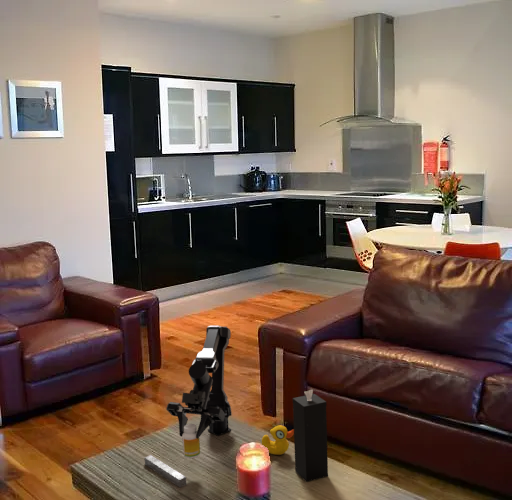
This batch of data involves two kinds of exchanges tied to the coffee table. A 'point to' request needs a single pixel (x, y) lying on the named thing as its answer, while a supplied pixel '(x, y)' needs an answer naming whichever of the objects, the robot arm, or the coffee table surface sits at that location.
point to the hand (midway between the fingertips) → (188, 437)
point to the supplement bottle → (190, 442)
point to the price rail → (165, 471)
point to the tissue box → (310, 436)
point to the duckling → (278, 440)
